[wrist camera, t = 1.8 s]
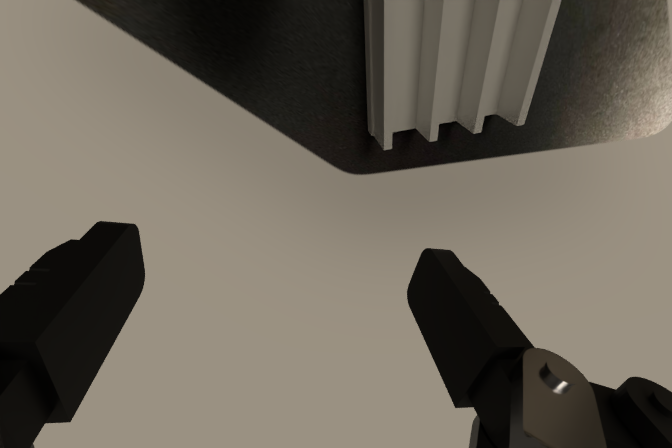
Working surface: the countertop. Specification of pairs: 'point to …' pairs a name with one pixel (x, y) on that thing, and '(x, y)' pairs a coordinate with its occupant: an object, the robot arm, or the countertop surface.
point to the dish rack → (452, 62)
